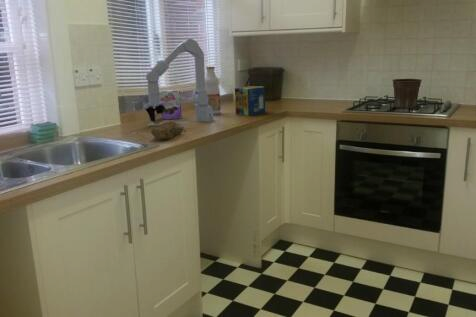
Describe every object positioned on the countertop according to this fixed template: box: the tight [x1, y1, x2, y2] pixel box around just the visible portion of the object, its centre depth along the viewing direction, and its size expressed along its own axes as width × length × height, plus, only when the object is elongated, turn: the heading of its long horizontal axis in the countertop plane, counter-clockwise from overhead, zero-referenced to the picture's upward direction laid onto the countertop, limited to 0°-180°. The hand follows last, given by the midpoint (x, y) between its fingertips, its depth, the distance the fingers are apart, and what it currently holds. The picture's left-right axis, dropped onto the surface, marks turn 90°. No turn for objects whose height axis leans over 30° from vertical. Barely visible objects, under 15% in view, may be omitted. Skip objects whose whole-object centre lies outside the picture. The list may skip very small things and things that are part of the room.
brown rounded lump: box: [150, 121, 185, 141], centre depth 204 cm, size 13×8×20 cm
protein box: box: [234, 85, 266, 117], centre depth 264 cm, size 10×15×16 cm
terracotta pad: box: [161, 119, 173, 123], centre depth 244 cm, size 6×6×1 cm
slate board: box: [145, 120, 191, 127], centre depth 238 cm, size 16×18×1 cm
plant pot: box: [391, 78, 423, 110], centre depth 262 cm, size 16×16×16 cm
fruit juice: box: [205, 66, 221, 116], centre depth 268 cm, size 9×9×28 cm
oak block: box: [149, 112, 163, 124], centre depth 236 cm, size 4×4×4 cm
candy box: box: [159, 89, 183, 120], centre depth 255 cm, size 14×6×16 cm, turn 105°
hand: (156, 120), depth 237 cm, fingers closed on oak block, 4 cm apart
